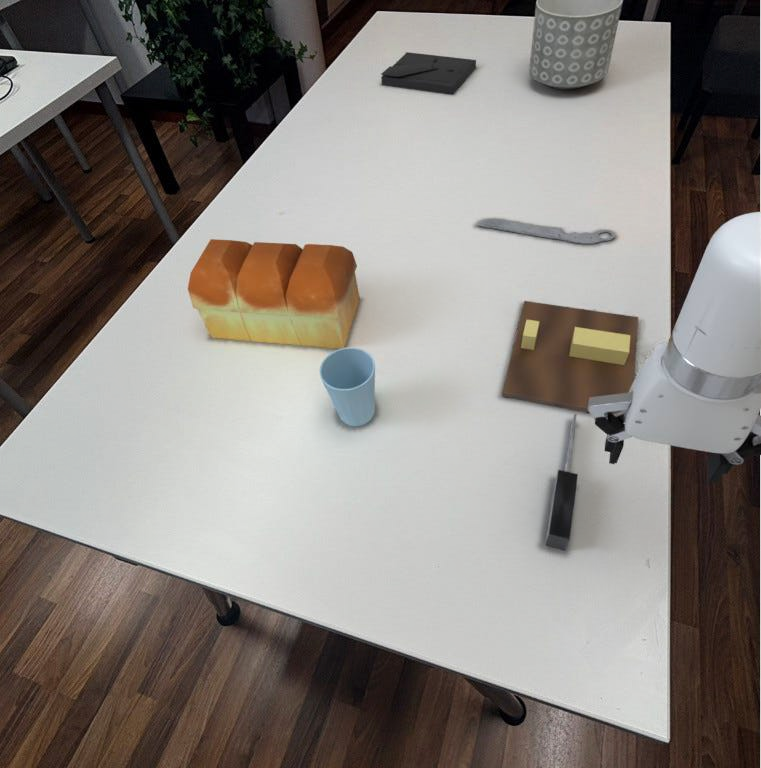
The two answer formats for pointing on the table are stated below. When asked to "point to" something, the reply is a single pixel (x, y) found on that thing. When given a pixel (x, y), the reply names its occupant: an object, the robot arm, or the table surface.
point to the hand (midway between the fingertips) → (661, 461)
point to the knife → (544, 231)
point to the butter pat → (530, 334)
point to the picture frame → (428, 73)
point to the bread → (276, 292)
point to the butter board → (567, 358)
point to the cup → (350, 384)
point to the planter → (573, 41)
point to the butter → (600, 345)
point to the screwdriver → (562, 502)
